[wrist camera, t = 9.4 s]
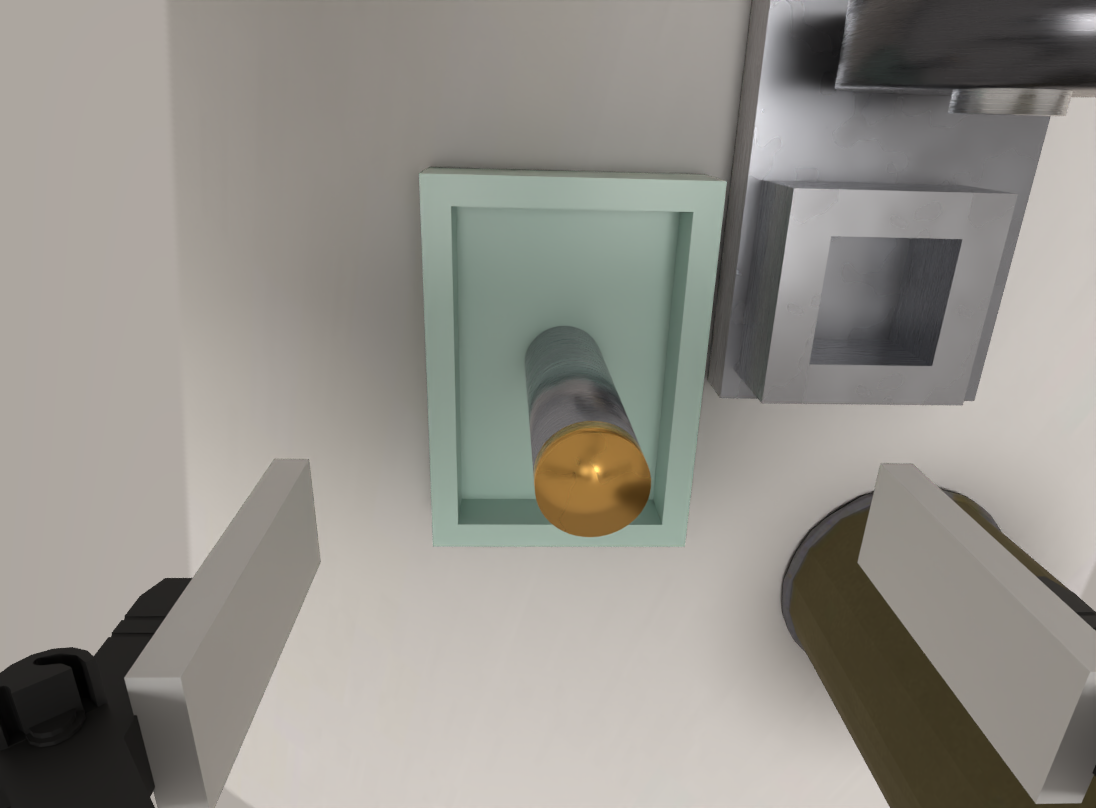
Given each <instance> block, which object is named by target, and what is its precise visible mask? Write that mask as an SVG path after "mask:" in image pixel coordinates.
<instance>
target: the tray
mask: <svg viewBox="0 0 1096 808" xmlns="http://www.w3.org/2000/svg"><path fill="white" fill-rule="evenodd" d="M726 186H727V181H724V180H721V179H718V178H715V177H712V176H708V175H705V174H673V173H635V172H596V171H558V170H520V169H481V168H443V167H429V168H427V169H426V170H424V171H422V172H420V173H419V188H420V215H421V241H422V268H423V294H424V321H425V347H426V374H427V400H428V427H429V453H430V480H431V506H432V533H433V546H474V547H685V540H686V531H687V523H688V514H689V505H690V497H691V488H692V480H693V471H694V462H695V454H696V445H697V436H698V428H699V419H700V410H701V402H702V393H703V384H704V376H705V367H706V358H707V350H708V341H709V333H710V324H711V315H712V307H713V298H714V289H715V281H716V272H717V263H718V255H719V246H720V237H721V229H722V220H723V212H724V203H725V194H726ZM557 326H572V327H576V328H579V329H581V330H583V331H585V332H586V333H588V334H589V335H590V336H591V337H592V338H593V339H594V340H595V341H596V343H597V344H598V346H599V349H600V351H601V353H602V356H603V358H604V361H605V363H606V365H607V368H608V370H609V373H610V375H611V378H612V380H613V382H614V385H615V387H616V390H617V392H618V394H619V397H620V399H621V402H622V404H623V407H624V409H625V411H626V414H627V416H628V419H629V421H630V423H631V426H632V428H633V431H634V433H635V435H636V438H637V440H638V443H639V445H640V448H641V450H642V452H643V455H644V457H645V460H646V462H647V464H648V467H649V470H650V475H651V490H650V495H649V498H648V501H647V503H646V505H645V507H644V509H643V510H642V512H641V513H640V514H639V515H638V517H637V518H636V519H635V520H634V521H632V522H631V523H630V524H629V525H627V526H626V527H624V528H623V529H621V530H619V531H617V532H614V533H612V534H608V535H605V536H600V537H580V536H575V535H572V534H568V533H566V532H564V531H562V530H560V529H558V528H556V527H555V526H554V525H553V524H551V523H550V522H549V521H548V520H547V519H546V518H545V516H544V515H543V514H542V512H541V510H540V508H539V506H538V504H537V501H536V496H535V487H534V475H533V463H532V451H531V438H530V426H529V414H528V402H527V389H526V377H525V356H526V352H527V349H528V347H529V345H530V344H531V342H532V341H533V340H534V339H535V338H536V337H537V336H538V335H539V334H540V333H542V332H543V331H545V330H547V329H549V328H553V327H557Z"/></svg>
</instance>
